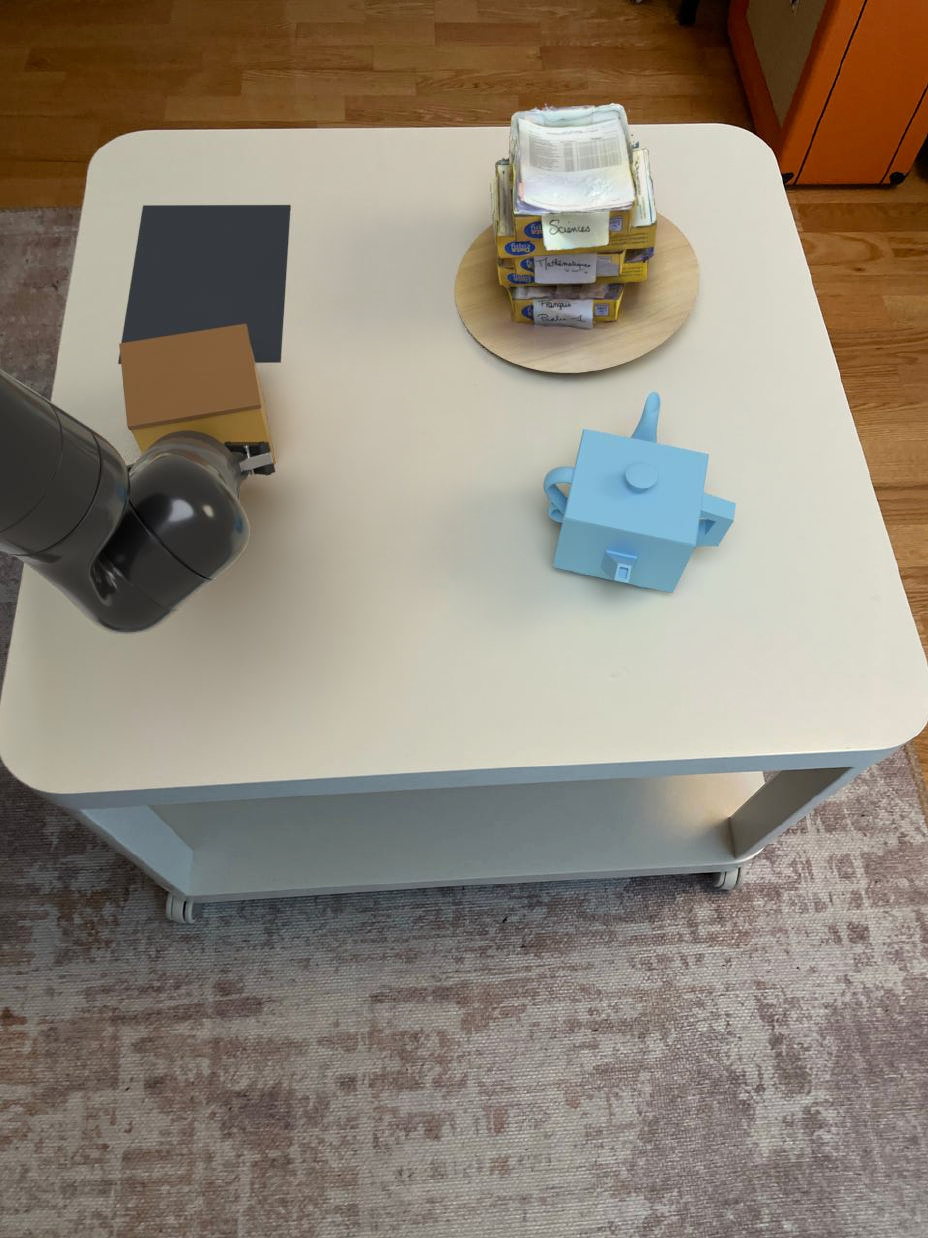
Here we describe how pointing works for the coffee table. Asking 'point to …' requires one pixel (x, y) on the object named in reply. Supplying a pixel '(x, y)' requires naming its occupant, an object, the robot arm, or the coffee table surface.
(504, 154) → the coffee table surface
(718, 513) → the teapot
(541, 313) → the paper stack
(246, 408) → the toy box
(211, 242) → the mat
